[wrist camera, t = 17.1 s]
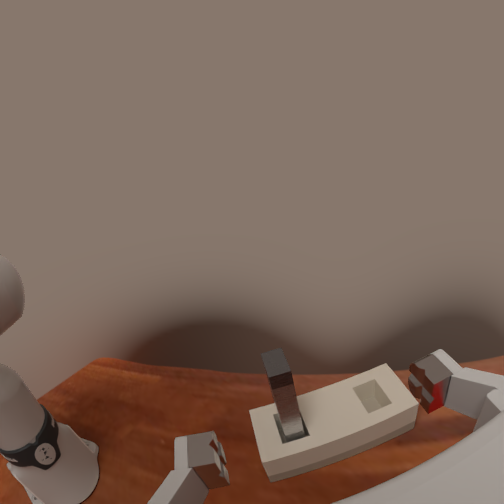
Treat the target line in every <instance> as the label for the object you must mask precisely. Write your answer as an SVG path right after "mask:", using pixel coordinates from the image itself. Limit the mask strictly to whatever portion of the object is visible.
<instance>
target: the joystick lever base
mask: <svg viewBox="0 0 504 504" xmlns="http://www.w3.org/2000/svg"><path fill="white" fill-rule="evenodd" d="M297 401H298V406H299V410H300V415H301V420H302V425H303V429H304V434H305V437H304V438H301V439H297V440H294V441H291V442H288V443H286V440H285V437H284V434H283V431H282V427H281V424H280V420H279V417H278V413H277V410H276V406H275V403H273V404H270V405H266V406H263V407H259V408H256V409H252V410H249V412H250V416H251V420H252V424H253V429H254V433H255V437H256V441H257V445H258V449H259V453H260V457H261V461H262V464H263V466H264V469H265V471H266V473H267V475H268V478H269V480H270V482H275V481H278V480H282V479H286V478H289V477H293V476H296V475H299V474H303V473H306V472H309V471H312V470H315V469H318V468H321V467H324V466H327V465H330V464H332V463H335V462H338V461H341V460H343V459H346V458H349V457H351V456H354V455H356V454H359V453H361V452H363V451H366V450H368V449H371V448H373V447H375V446H377V445H380V444H382V443H384V442H386V441H388V440H391V439H393V438H395V437H397V436H399V435H401V434H403V433H405V432H407V431H409V430H411V429H413V428H414V425H415V420H416V415H417V410H418V405H419V403H418V402H417V401H416V399H415V398H414V397H413V396H412V394H411V393H410V392H409V391H408V389H407V388H406V387H405V386H404V384H403V383H402V382H401V381H400V379H399V378H398V377H397V376H396V375H395V373H394V372H393V371H392V370H391V369H390V367H389V366H388V365H387V364H383V365H381V366H378V367H376V368H373V369H371V370H369V371H366V372H364V373H361V374H359V375H356V376H353V377H351V378H348V379H346V380H343V381H340V382H337V383H335V384H332V385H329V386H326V387H323V388H321V389H318V390H315V391H312V392H309V393H306V394H303V395H300V396H297Z"/></svg>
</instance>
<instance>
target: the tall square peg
mask: <svg viewBox="0 0 504 504" xmlns="http://www.w3.org/2000/svg"><path fill="white" fill-rule="evenodd" d="M261 357H262V360H263V364H264V368H265V371H266V375H267V378H268V382H269V385H270V389H271V392H272V396H273V399H274V403H275V406H276V410H277V413H278V417H279V420H280V424H281V427H282V431H283V434H284V437H285V440H286V443H288V442H291V441H294V440H297V439H301V438H304V437H305V434H304V429H303V425H302V420H301V415H300V410H299V406H298V401H297V396H296V392H295V387H294V382H293V378H292V373H291V370H290V367H289V365H288V363H287V360H286V358H285V356H284V353H283V351H282V349H281V348H278V349H275V350H271V351H268V352H265V353H261Z"/></svg>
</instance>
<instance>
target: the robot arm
mask: <svg viewBox="0 0 504 504" xmlns="http://www.w3.org/2000/svg"><path fill="white" fill-rule="evenodd" d="M24 303H25V295H24V287H23V283H22V280H21V278H20V275H19V273H18V272H17V270H16V268H15V267H14V266H13V264H12V263H11V262H10V261H9V260H8V259H6V258H5V257H4V256H2V255H1V254H0V335H2V334H3V333H4V332H5V331H6V330H7V329H8V328H9V327H11V326H12V325H13V324H14V323H15V322H16V321H17V320H18V319H19V318H20V317H21V316H22V314H23V310H24ZM409 371H410V372H411V375H410V377H409V378H408V385H409V389H410V391H411V393H412V395H413V396H414V397H415V398H418V399H420V405H421V406H422V407H423V408H424V409H425V411H426V412H427V413H428V414H429V413H431V412H432V411H434V410H436V409H438V408H440V407H442V406H445V407H447V408H450V409H452V410H455V411H457V412H459V413H462V414H464V415H467V416H469V417H472V418H474V419H477V423H476V425H475V427H474V432H473V433H471V434H470V435H468V436H467V437H465V438H464V439H462V440H461V441H459V442H458V443H456V444H455V445H453V446H451V447H450V448H448V449H446V450H445V451H443V452H441V453H440V454H438V455H436V456H435V457H433V458H431V459H429V460H428V461H426V462H424V463H422V464H420V465H418V466H416V467H415V468H413V469H411V470H409V471H407V472H405V473H403V474H401V475H399V476H397V477H395V478H392V479H390V480H388V481H386V482H384V483H382V484H379V485H377V486H375V487H373V488H370V489H368V490H366V491H363V492H361V493H358V494H356V495H353V496H351V497H348V498H345V499H343V500H340V501H337V502H334V503H332V504H504V376H502V375H497V374H493V373H488V372H484V371H479V370H475V369H470V368H466V367H465V368H464V369H463V368H462V367H461V366H460V365H459V364H457V363H456V362H455V361H454V360H453V359H452V358H451V357H450V356H449V355H448V354H447V353H445V352H444V351H443V350H442V349H439V350H437V351H435V352H433V353H431V354H429V355H427V356H425V357H423V358H421V359H419V360H417V361H415V362H413V363H411V365H410V369H409ZM98 451H99V447H98V446H97V445H96V444H95V443H94V442H91V441H88V440H86V439H83V438H80V437H79V436H78V435H77V434H76V433H75V432H74V431H73V430H72V428H71V427H70V426H68V425H65V424H63V423H59V422H56V421H55V420H54V418H53V416H52V415H51V414H50V412H49V411H48V410H46V408H45V407H44V406H43V405H41V404H39V403H38V401H37V400H36V399H35V397H34V396H33V394H32V393H31V391H30V390H29V389H28V387H27V386H26V384H25V383H24V381H23V380H22V378H21V377H20V375H19V374H18V373H17V372H16V371H14V370H13V369H11V368H9V367H8V366H6V365H3V364H0V453H1V454H2V455H3V457H4V458H6V459H7V460H8V461H9V462H8V463H7V467H8V468H9V470H10V471H11V473H12V475H13V476H14V477H15V478H16V479H17V480H18V481H19V482H20V483H21V484H22V485H23V486H24V488H25V490H26V492H27V494H28V496H29V498H30V500H31V501H32V503H33V504H79V503H81V502H82V501H84V500H85V499H86V498H87V497H88V496H89V495H90V494H91V493H92V491H93V490H94V488H95V486H96V484H97V481H98V477H99V466H98V462H97V455H98ZM225 465H226V458H225V454H224V450H223V448H222V445H221V444H220V442H218V441H217V436H216V434H215V433H214V431H210V432H205V433H199V434H193V435H188V436H182V437H176V438H175V441H174V467H175V470H173V471H171V472H170V473H169V474H168V476H167V477H166V479H165V480H164V481H163V483H162V484H161V485H160V487H159V488H158V490H157V491H156V492H155V494H154V495H153V496H152V498H151V499H150V500H149V502H148V503H147V504H203V502H204V500H205V498H206V496H207V494H208V492H209V489H214V488H219V487H224V486H229V485H230V483H229V476H228V471H227V470H226V468H225Z"/></svg>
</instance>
